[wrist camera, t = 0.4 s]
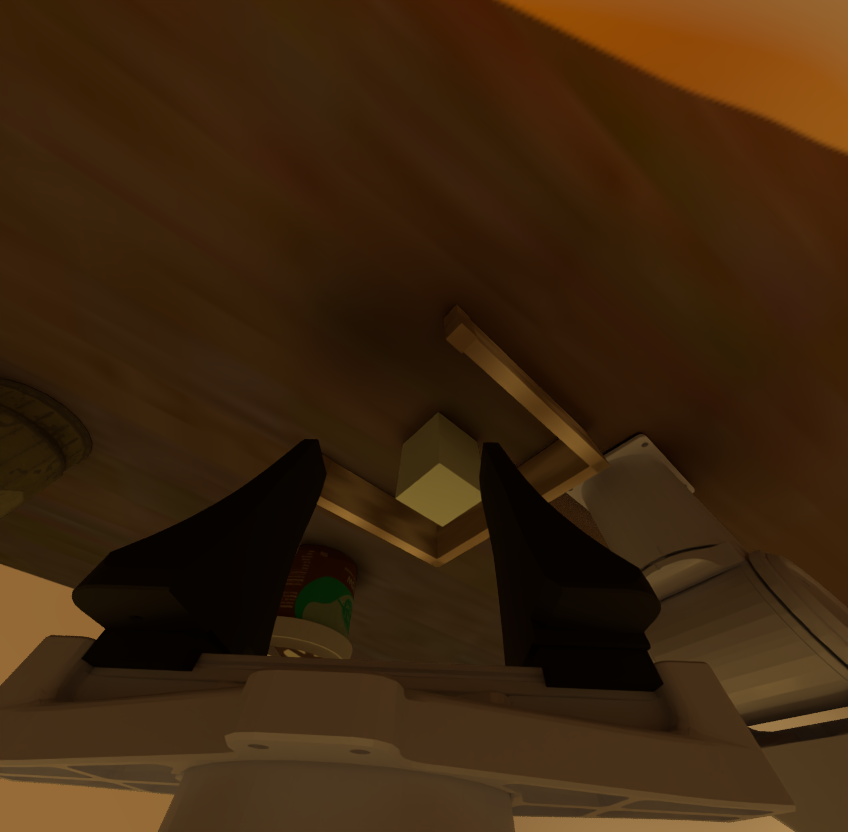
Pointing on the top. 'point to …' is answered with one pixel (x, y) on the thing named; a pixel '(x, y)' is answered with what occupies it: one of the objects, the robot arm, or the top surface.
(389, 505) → the open crate
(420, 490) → the sage block
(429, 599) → the top surface
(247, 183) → the top surface
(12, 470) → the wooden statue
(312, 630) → the food container
